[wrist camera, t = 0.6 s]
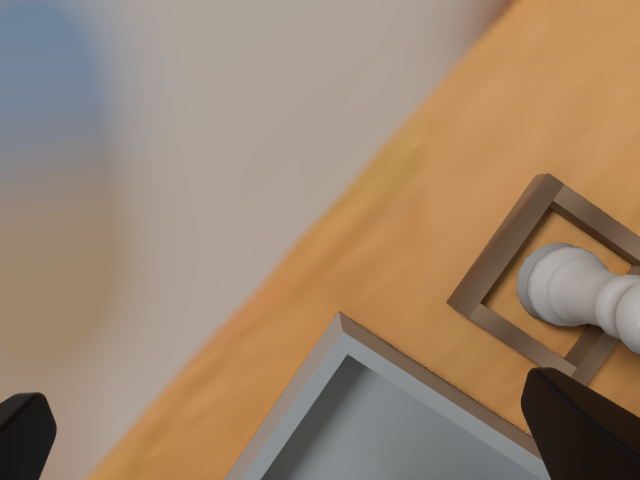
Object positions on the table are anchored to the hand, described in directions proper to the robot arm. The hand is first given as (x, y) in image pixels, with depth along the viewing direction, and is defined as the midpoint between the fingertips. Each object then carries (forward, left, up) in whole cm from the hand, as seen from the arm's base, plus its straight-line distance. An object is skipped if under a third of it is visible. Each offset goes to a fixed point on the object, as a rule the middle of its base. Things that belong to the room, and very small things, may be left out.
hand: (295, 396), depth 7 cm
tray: (-10, +7, -15) cm, 19 cm away
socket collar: (-12, -7, -15) cm, 20 cm away
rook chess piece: (-12, -7, -15) cm, 20 cm away
